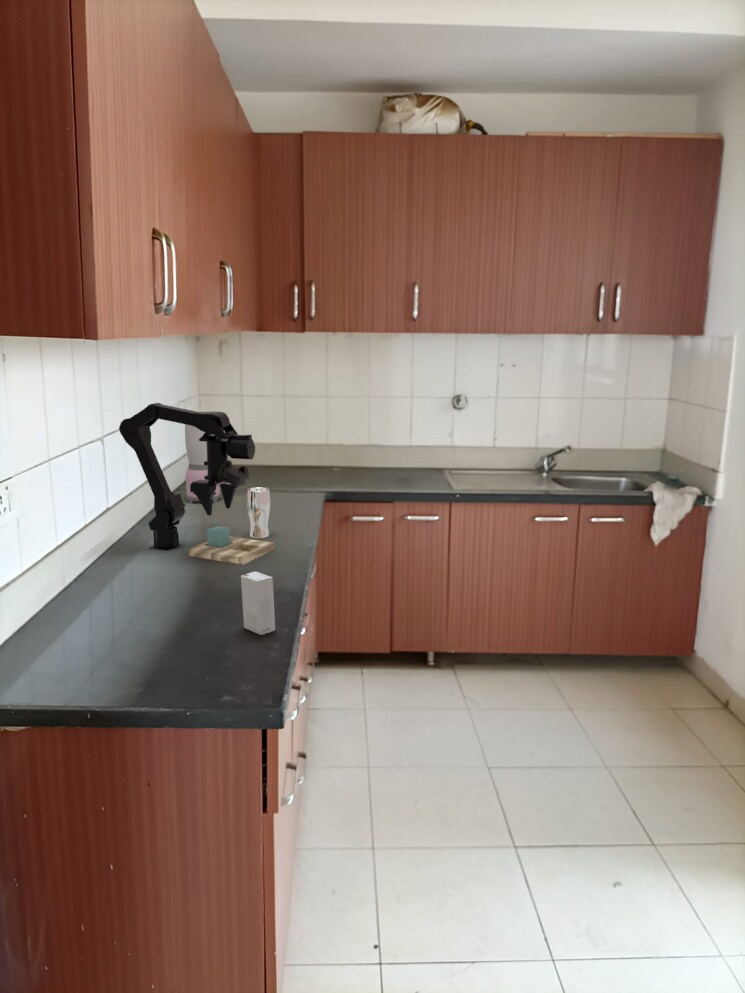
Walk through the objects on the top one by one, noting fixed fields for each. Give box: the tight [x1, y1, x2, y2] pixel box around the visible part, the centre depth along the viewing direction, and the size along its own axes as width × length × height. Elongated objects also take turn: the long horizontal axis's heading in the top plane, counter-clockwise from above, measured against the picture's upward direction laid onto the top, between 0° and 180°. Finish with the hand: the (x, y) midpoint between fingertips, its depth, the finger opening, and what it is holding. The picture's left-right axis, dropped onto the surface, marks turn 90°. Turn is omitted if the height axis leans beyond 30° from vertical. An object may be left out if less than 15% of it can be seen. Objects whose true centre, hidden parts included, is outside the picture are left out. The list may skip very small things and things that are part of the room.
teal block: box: [206, 525, 231, 548], centre depth 215 cm, size 4×4×6 cm
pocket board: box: [188, 535, 275, 566], centre depth 213 cm, size 18×16×2 cm
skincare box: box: [240, 570, 276, 636], centre depth 160 cm, size 6×4×12 cm
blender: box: [184, 424, 225, 504], centre depth 276 cm, size 16×12×32 cm
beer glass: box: [246, 486, 271, 539], centre depth 230 cm, size 7×7×15 cm
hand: (218, 511), depth 213 cm, fingers open, 9 cm apart
